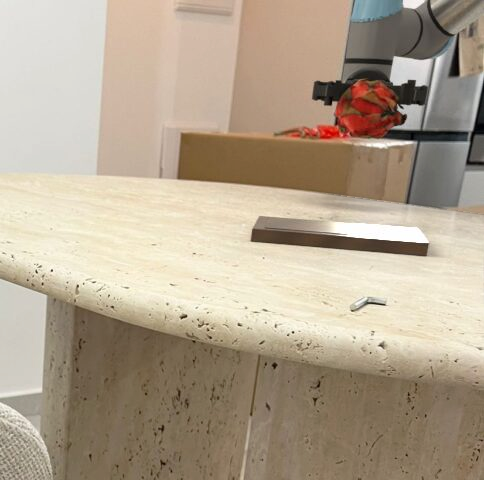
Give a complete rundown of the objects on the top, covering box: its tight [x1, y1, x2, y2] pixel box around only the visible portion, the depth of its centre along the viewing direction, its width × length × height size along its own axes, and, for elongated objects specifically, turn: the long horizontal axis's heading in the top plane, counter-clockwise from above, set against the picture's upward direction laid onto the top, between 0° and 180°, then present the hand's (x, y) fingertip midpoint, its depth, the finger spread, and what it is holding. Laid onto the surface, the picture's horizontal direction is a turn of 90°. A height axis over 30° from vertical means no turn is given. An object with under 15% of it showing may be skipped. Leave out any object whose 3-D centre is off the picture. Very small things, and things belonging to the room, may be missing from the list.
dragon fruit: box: [333, 78, 408, 140], centre depth 133 cm, size 8×8×12 cm
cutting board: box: [250, 215, 430, 257], centre depth 117 cm, size 20×14×2 cm
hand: (371, 92), depth 128 cm, fingers closed on dragon fruit, 8 cm apart
